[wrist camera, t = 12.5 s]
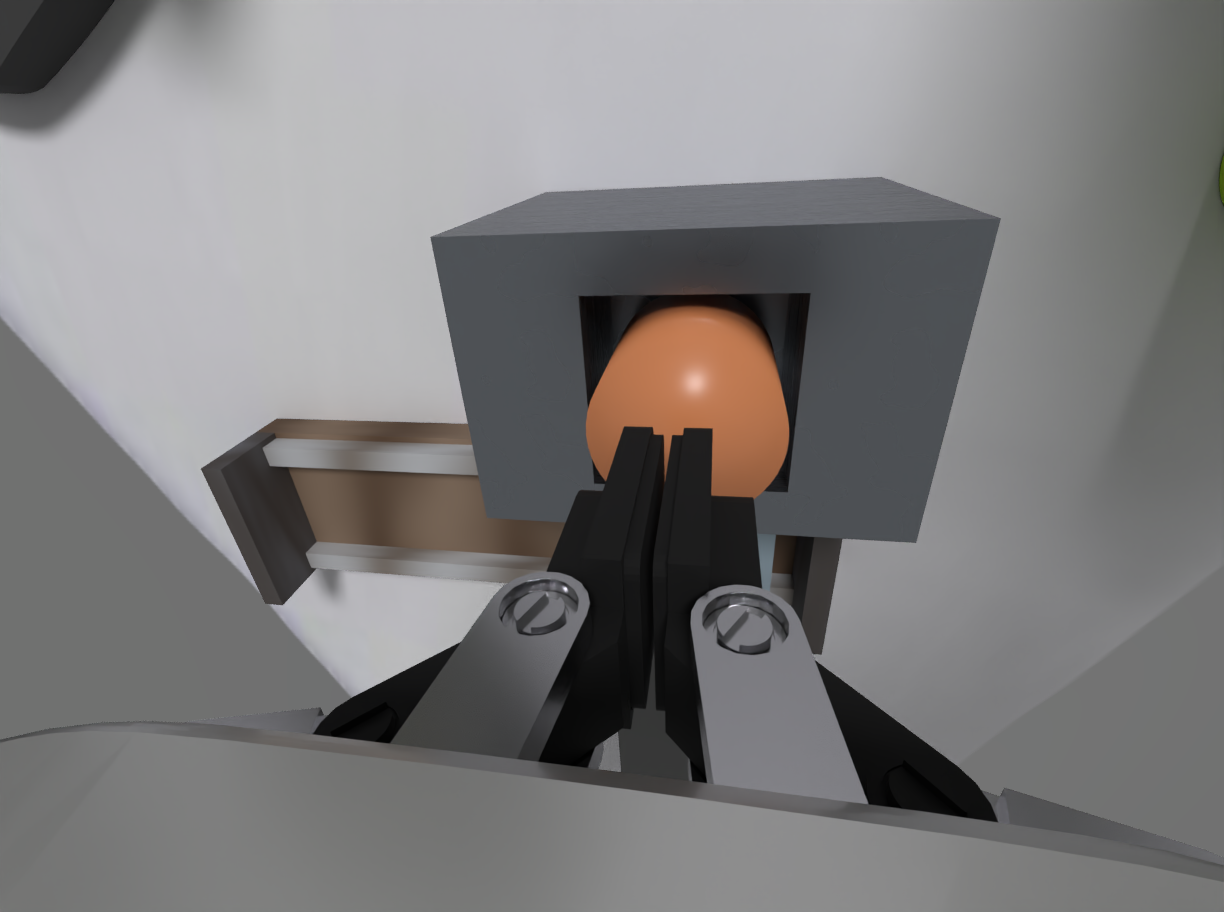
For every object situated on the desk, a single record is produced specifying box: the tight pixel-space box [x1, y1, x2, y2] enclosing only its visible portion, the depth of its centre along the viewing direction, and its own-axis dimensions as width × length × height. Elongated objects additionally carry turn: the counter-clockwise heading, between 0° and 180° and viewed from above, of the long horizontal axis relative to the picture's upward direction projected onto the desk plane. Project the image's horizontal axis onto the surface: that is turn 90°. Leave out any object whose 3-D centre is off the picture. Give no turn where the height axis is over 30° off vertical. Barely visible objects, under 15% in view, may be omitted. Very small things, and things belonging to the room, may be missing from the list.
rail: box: [201, 419, 842, 655], centre depth 27 cm, size 27×8×5 cm, turn 93°
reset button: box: [586, 294, 789, 499], centre depth 14 cm, size 4×4×4 cm
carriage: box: [618, 534, 776, 781], centre depth 21 cm, size 7×9×9 cm
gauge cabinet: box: [431, 177, 1001, 543], centre depth 19 cm, size 12×8×10 cm
